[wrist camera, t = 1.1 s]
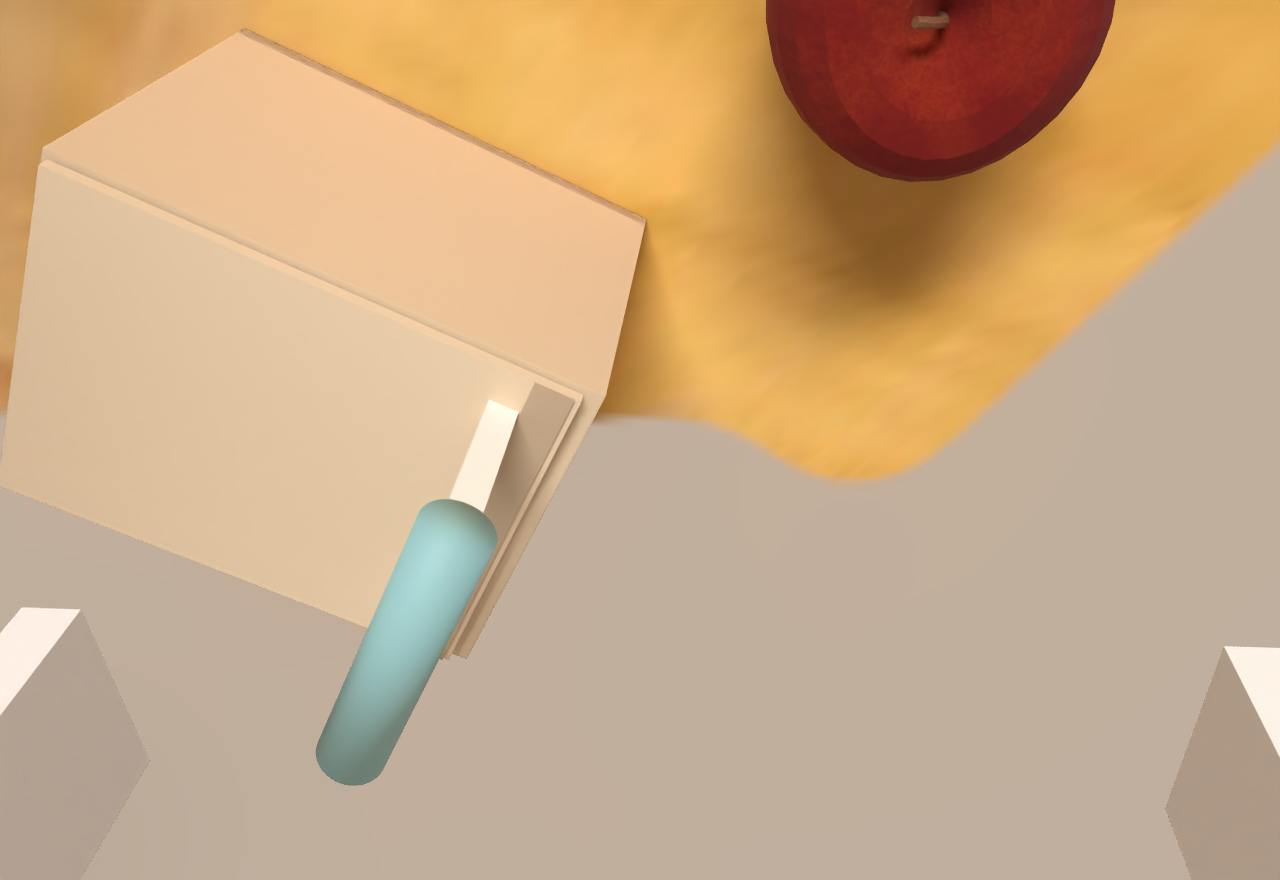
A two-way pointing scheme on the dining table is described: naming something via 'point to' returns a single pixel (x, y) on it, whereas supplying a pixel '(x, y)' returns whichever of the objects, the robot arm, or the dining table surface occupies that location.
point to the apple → (932, 75)
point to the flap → (272, 435)
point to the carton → (382, 218)
